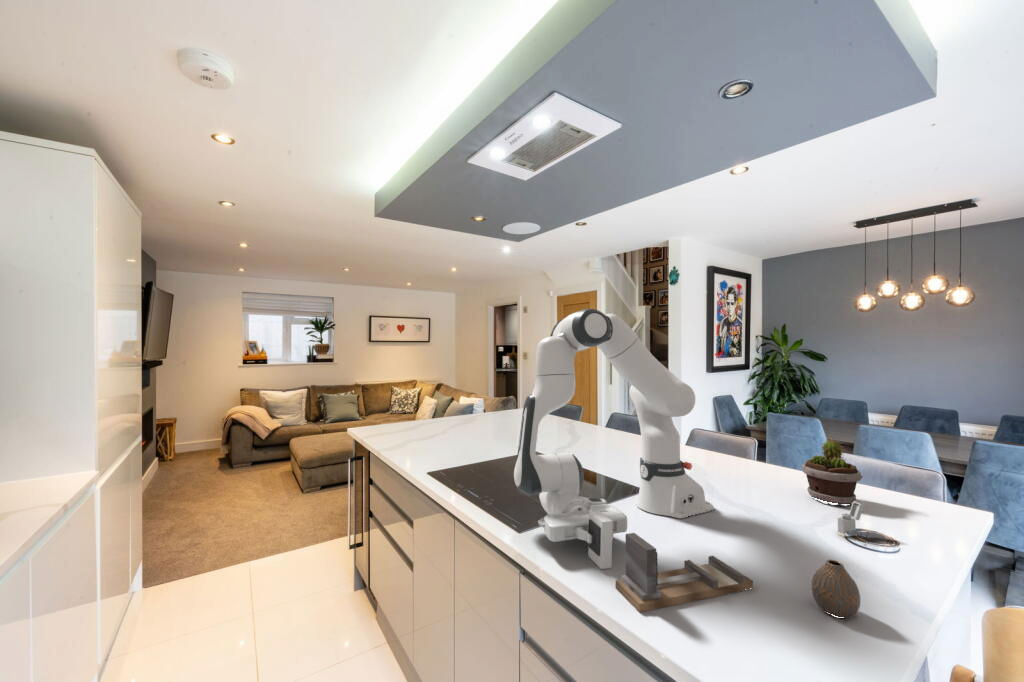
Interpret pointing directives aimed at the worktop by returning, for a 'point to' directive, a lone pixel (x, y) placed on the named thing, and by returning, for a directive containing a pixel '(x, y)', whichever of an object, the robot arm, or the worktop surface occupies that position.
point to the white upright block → (600, 539)
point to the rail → (673, 579)
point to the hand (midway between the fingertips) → (601, 538)
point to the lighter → (850, 518)
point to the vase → (835, 590)
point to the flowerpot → (831, 475)
